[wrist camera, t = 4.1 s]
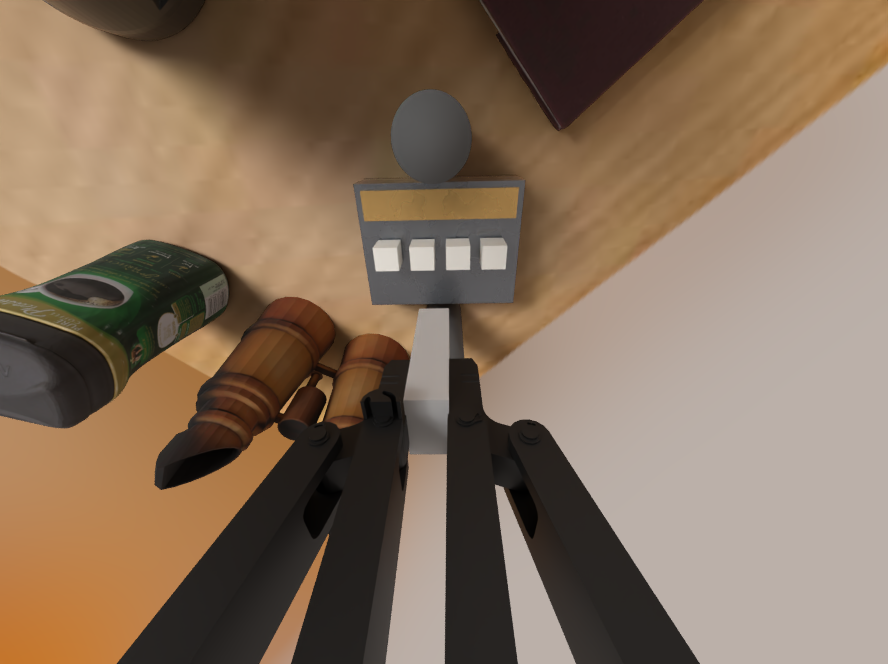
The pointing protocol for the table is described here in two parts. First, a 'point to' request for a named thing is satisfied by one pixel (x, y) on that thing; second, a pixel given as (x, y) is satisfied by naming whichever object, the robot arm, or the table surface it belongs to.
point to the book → (579, 45)
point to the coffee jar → (100, 328)
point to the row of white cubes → (424, 254)
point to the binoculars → (274, 389)
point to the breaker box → (441, 235)
